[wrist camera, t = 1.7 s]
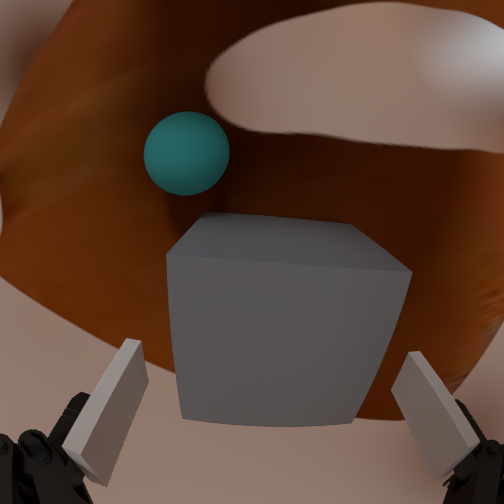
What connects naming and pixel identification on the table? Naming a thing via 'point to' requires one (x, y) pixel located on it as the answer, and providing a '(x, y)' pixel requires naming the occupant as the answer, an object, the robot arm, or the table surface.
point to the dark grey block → (279, 319)
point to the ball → (186, 153)
